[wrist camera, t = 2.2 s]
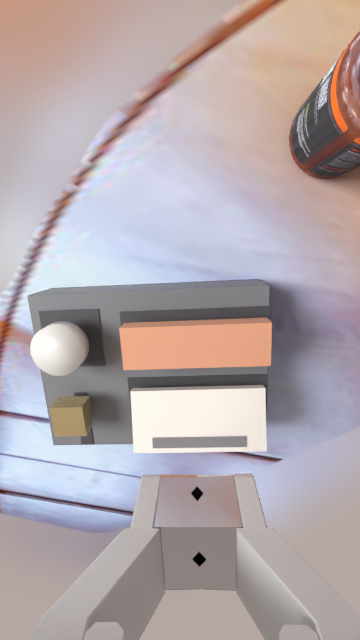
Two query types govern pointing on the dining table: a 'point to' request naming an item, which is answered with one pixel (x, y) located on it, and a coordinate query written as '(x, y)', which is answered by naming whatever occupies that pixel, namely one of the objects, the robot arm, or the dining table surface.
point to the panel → (105, 346)
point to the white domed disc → (59, 348)
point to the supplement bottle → (331, 120)
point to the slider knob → (71, 416)
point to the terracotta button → (196, 344)
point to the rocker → (199, 419)
